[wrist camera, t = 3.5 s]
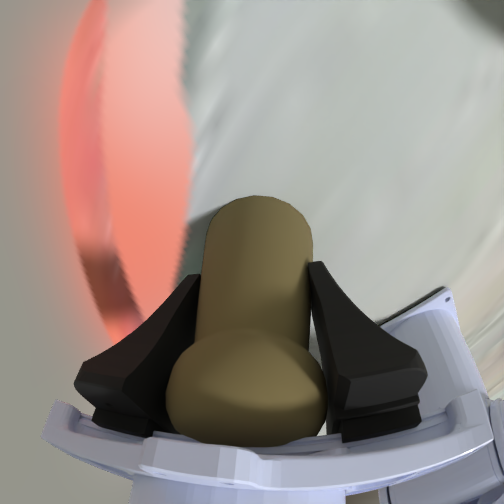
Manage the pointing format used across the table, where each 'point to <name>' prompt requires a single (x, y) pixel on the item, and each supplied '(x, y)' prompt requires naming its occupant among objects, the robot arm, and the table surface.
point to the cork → (251, 334)
